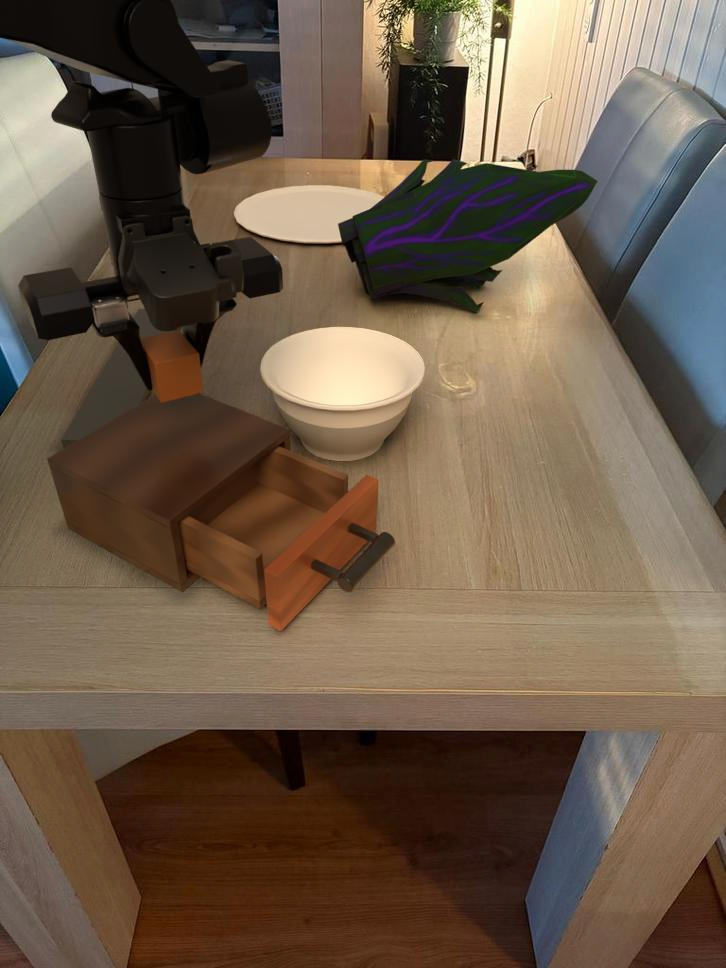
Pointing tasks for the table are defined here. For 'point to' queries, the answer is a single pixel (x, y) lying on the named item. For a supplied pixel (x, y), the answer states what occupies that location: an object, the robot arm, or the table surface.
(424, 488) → the table surface
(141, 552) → the cabinet
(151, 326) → the board
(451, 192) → the decorative plant
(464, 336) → the table surface
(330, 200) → the plate
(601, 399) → the table surface
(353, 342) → the bowl
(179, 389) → the orange cube block
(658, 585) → the table surface
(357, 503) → the drawer
